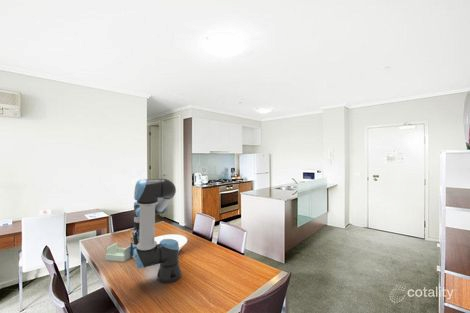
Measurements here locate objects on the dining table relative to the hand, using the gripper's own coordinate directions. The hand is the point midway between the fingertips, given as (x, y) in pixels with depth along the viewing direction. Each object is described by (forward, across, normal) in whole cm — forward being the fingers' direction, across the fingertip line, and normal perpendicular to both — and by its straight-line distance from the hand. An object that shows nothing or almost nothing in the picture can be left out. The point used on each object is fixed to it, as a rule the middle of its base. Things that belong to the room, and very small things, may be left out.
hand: (139, 251), depth 164 cm
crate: (+5, +2, -15) cm, 15 cm away
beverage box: (+5, 0, 0) cm, 5 cm away
